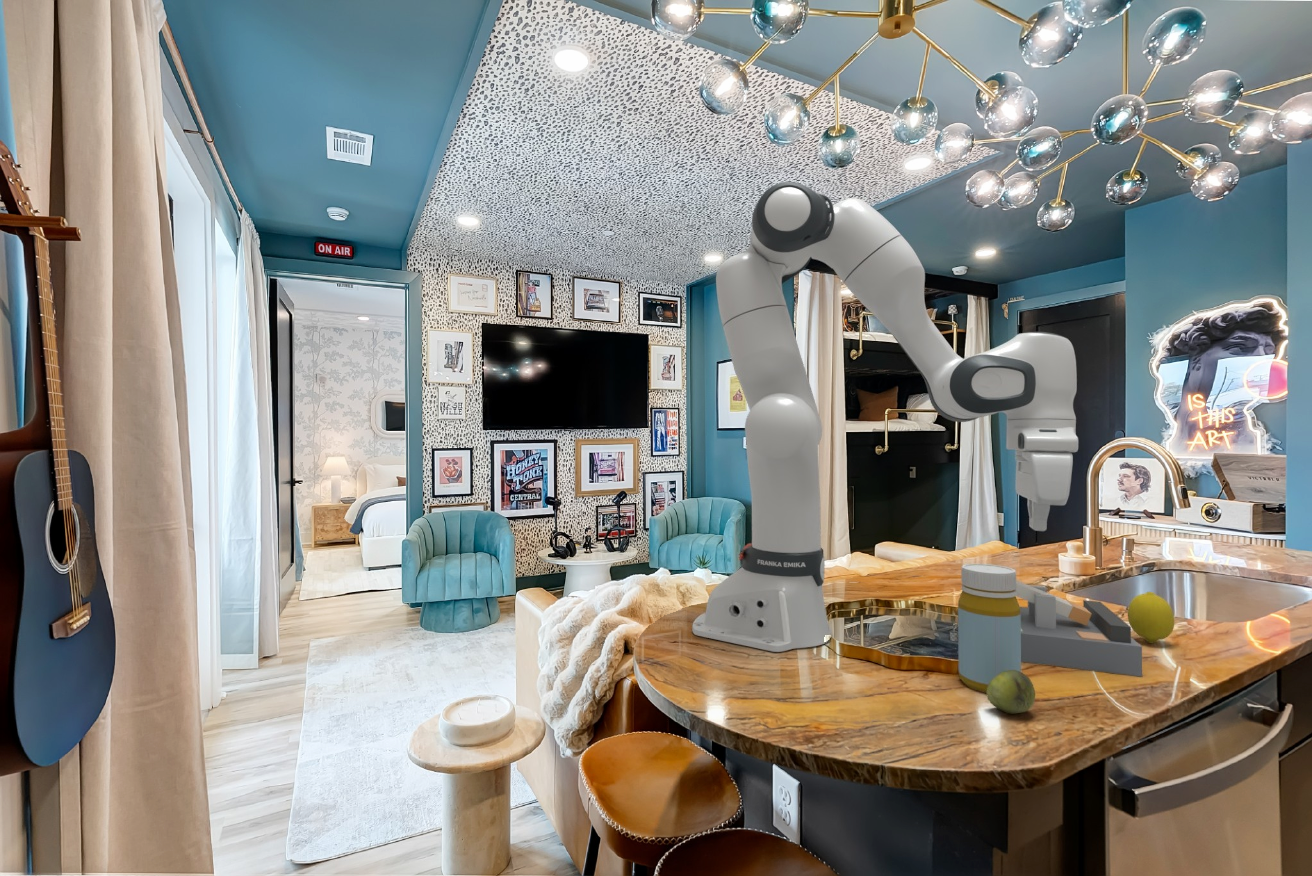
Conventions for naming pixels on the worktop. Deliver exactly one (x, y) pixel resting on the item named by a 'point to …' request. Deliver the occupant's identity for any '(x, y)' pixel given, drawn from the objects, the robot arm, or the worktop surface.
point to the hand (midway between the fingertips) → (1037, 529)
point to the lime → (1011, 692)
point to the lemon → (1151, 617)
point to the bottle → (988, 624)
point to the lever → (1062, 605)
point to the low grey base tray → (1078, 638)
